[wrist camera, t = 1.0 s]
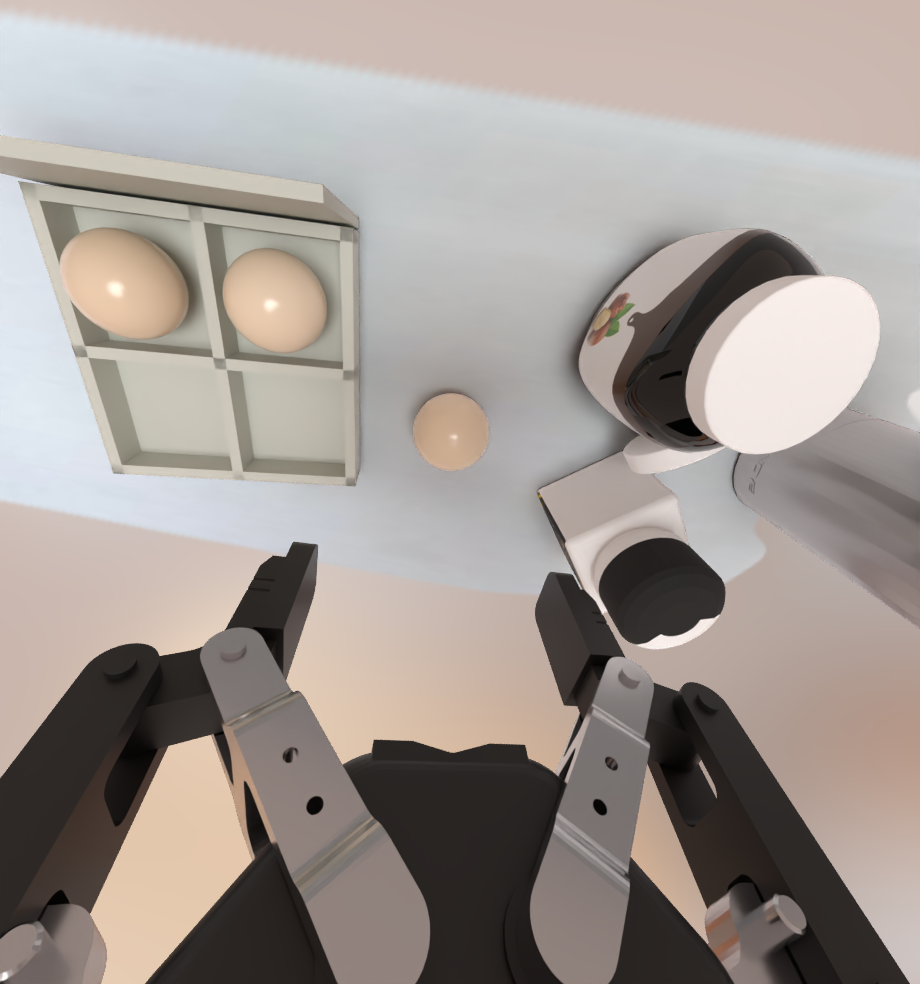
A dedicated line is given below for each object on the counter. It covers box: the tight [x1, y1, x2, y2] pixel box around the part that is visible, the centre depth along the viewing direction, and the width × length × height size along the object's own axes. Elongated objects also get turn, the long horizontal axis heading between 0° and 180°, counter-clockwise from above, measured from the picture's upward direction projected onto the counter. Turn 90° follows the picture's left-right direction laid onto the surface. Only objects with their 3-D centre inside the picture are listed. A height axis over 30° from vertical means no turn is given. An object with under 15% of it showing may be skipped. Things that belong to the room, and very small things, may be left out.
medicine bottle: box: [537, 451, 725, 649], centre depth 27 cm, size 7×7×12 cm
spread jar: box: [579, 228, 880, 474], centre depth 22 cm, size 12×11×12 cm
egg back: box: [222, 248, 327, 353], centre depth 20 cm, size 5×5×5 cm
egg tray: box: [0, 135, 360, 486], centre depth 20 cm, size 14×15×10 cm
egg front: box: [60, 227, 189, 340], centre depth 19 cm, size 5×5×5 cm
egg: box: [413, 393, 490, 471], centre depth 25 cm, size 5×5×5 cm
